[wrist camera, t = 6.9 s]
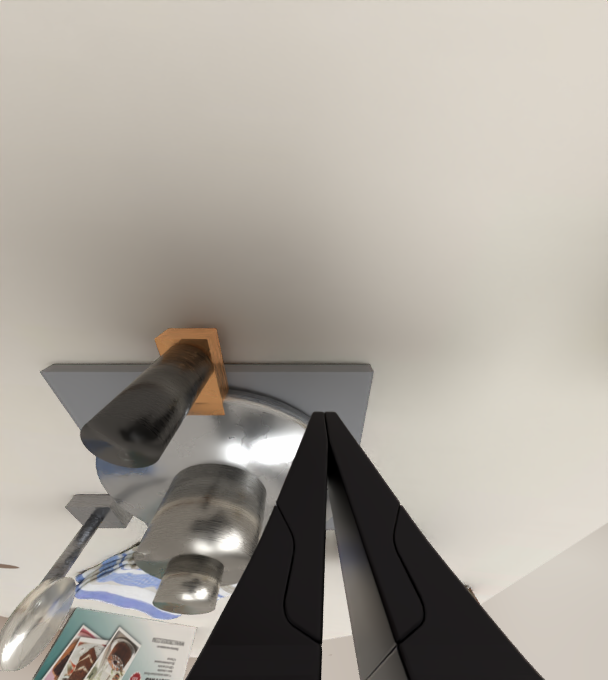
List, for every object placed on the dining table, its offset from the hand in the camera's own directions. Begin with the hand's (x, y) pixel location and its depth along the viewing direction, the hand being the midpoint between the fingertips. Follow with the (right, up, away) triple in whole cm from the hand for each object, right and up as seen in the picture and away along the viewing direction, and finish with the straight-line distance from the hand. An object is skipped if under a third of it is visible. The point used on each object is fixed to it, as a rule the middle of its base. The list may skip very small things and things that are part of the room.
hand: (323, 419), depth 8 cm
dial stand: (-21, -14, +14) cm, 28 cm away
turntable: (-7, -6, +8) cm, 12 cm away
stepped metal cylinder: (-7, -9, +8) cm, 14 cm away
